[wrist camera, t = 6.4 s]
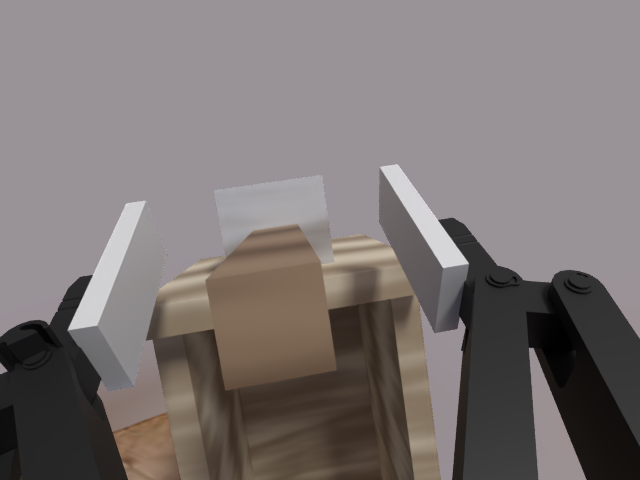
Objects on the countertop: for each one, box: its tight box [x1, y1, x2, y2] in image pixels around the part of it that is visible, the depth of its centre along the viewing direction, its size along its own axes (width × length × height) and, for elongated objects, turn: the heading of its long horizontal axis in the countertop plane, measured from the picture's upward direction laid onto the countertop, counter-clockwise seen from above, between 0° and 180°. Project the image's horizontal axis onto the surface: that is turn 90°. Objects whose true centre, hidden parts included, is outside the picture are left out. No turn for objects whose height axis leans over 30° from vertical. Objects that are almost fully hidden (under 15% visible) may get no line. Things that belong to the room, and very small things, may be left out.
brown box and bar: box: [205, 175, 337, 391], centre depth 19 cm, size 20×6×5 cm, turn 5°
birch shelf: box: [146, 234, 441, 480], centre depth 28 cm, size 16×14×30 cm
